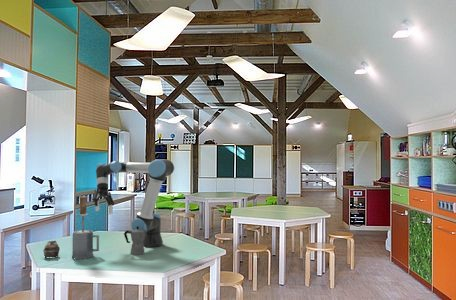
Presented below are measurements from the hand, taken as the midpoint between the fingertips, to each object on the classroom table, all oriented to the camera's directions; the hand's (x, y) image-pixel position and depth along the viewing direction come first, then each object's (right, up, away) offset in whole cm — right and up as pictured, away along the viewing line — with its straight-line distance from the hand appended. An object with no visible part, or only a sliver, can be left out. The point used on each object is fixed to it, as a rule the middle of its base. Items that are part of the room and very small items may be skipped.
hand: (104, 212), depth 270 cm
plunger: (-7, -10, -20) cm, 24 cm away
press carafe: (-6, -25, -21) cm, 34 cm away
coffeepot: (+25, -26, -13) cm, 38 cm away
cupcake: (-27, -25, -21) cm, 43 cm away
